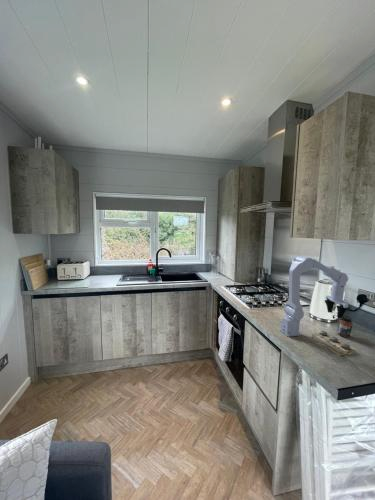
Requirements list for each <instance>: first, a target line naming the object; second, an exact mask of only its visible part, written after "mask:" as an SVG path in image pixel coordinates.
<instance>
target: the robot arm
mask: <svg viewBox="0 0 375 500" xmlns="http://www.w3.org/2000/svg"><path fill="white" fill-rule="evenodd" d="M314 268H315V269H317V270H320V271H321V272H322V274H323V275H324V276H326V277H328V278H330V279H331V281H332V286H331V287H332V288H331V292H330V295H325V299H324V303H325V305H326V309H327V313H330V314H331V313H333V309H334V306H335V304H337V305H336V310H337V312H336V313H337V318H338V319H341V318H342V317H343V315H345V313H346V311H348V310H349V304H348V303H346V302H345V300H344V293H345V292H344V291H345V287H346V285H347V283H348V281H349V276H348V275H347V273H345V272H341V270H340V269H337V268H335V266H334V265H325V264H323V263H322V262H320V261H319V260H316V259H314V258H312V257H307V256H303V255H300V254H297V255H295V256H294V257H293V258H292V259H291V265H290V268H289V271H288V300H287V301H286V302H285V305H284V308H283V309H284V313H285V317H282V318H281V320H280V325H279V327H280V328H278V330H279V331H280V332H281V333H283V334H284V335H285V336H287V337H296V336H303V333H301V332H300V322H301V320H303V318H304V316H305V312H304V310H303V309H304V308H303V306H302V304H301V301H300V300H301V296H300V294H301V275H302V274H303V273H306V272H307V271H309V270H311V269H314Z"/></svg>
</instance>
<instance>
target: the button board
mask: <svg viewBox="0 0 375 500" xmlns="http://www.w3.org/2000/svg"><path fill="white" fill-rule="evenodd" d="M331 337H335V338H337V337H336V336H334V335H332V334H331V333H329V332H327V336H322V335H321V332H315V333H311V339H314V340H315V341H316V342H317V343H319V344H321V345H322V346H324V347H326V348H327V349H329V350H331V351H332V352H333V353H335V354H336V355H338V356H340V357H341V356H346V355H353V354H356V353H357V349H356V348H354V347H353V346H351V345H349V346H350V350H345V349H343V348H342V345H343V344H347V343H346V342H344V341H343V340H341V339H339V338H337V339H338V343H334V342H332V341H331Z"/></svg>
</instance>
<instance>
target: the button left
mask: <svg viewBox="0 0 375 500" xmlns="http://www.w3.org/2000/svg"><path fill="white" fill-rule="evenodd" d="M320 333H321V335H322V336H327V333H328V332H327V331H325V330H320Z"/></svg>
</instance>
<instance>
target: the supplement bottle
mask: <svg viewBox="0 0 375 500" xmlns="http://www.w3.org/2000/svg"><path fill="white" fill-rule="evenodd" d="M353 324H354V323H353V321H352V316H350V315H347V314H343V316H342V318H339V321H338V328H337V334H338V336H340V337H342V338H350V337H351V333H352V329H353Z"/></svg>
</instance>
